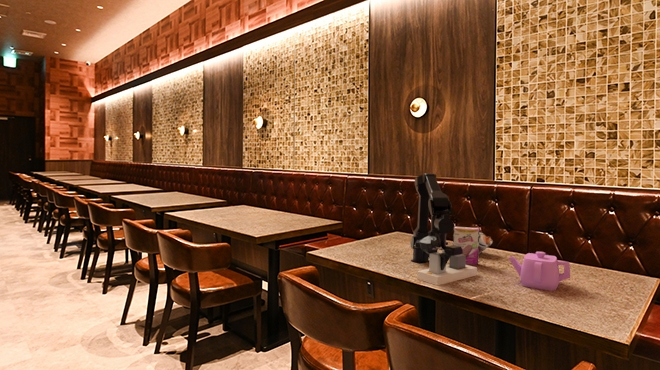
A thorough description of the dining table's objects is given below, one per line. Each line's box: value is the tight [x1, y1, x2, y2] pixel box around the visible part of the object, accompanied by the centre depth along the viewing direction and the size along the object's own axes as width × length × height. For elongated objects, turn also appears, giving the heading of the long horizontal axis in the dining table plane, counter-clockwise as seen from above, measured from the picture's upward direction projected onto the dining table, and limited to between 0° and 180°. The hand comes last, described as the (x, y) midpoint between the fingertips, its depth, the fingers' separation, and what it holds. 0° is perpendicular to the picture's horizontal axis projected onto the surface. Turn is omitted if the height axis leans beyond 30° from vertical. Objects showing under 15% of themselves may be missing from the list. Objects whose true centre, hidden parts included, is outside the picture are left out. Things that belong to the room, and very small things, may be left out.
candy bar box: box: [452, 226, 480, 266], centre depth 182 cm, size 11×5×16 cm, turn 71°
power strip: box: [416, 263, 478, 286], centre depth 160 cm, size 10×24×4 cm, turn 125°
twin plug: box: [448, 254, 466, 270], centre depth 163 cm, size 4×5×8 cm
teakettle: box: [508, 251, 571, 292], centre depth 153 cm, size 17×17×12 cm
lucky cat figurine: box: [479, 231, 494, 255], centre depth 202 cm, size 15×12×14 cm
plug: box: [428, 251, 446, 275], centre depth 156 cm, size 4×5×8 cm
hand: (437, 268), depth 156 cm, fingers closed on plug, 4 cm apart
